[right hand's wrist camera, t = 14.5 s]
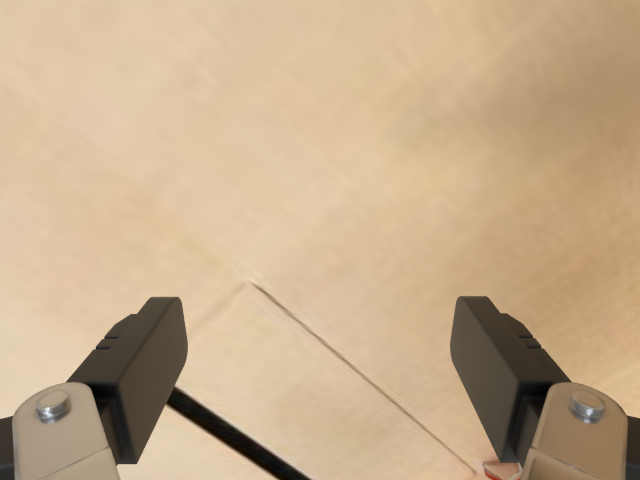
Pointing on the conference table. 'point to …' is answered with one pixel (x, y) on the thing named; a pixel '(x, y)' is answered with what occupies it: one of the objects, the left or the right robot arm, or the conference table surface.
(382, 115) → the conference table surface
